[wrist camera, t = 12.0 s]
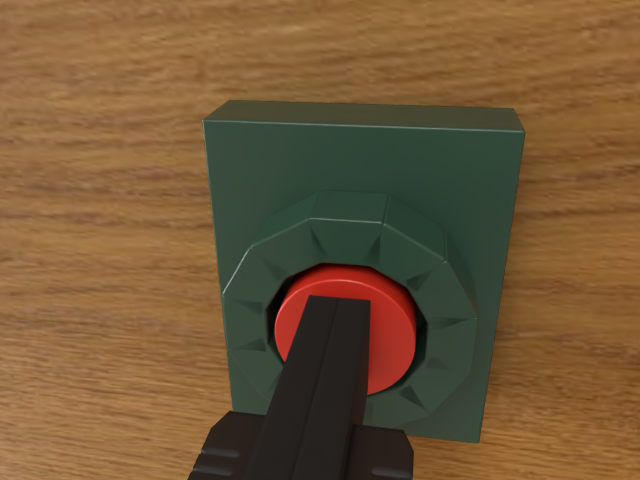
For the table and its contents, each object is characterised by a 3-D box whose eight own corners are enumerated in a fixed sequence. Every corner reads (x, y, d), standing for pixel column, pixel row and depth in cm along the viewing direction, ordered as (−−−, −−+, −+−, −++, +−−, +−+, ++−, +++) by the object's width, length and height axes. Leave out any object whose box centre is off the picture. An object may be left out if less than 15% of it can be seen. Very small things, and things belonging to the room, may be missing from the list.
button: (413, 362, 17) (411, 404, 15) (291, 349, 17) (277, 388, 16) (421, 251, 15) (420, 285, 14) (286, 242, 16) (270, 274, 14)
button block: (474, 396, 20) (483, 492, 16) (250, 372, 21) (214, 456, 18) (515, 107, 15) (538, 154, 12) (227, 99, 17) (172, 139, 13)
